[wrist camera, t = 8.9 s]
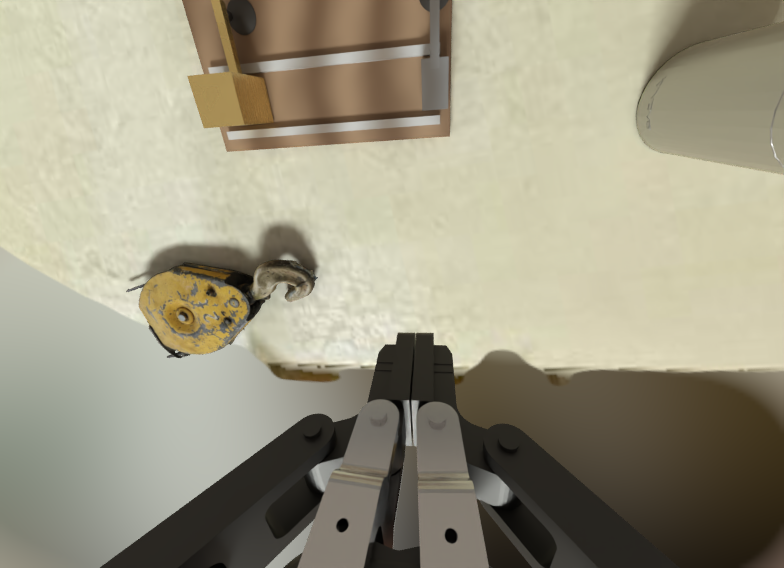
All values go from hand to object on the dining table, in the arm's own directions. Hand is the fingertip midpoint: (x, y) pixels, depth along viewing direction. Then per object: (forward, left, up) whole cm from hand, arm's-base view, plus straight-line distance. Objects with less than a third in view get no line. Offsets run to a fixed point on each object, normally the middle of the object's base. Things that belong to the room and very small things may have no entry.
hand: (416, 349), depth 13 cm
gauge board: (+10, -14, -27) cm, 32 cm away
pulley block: (+29, +13, -28) cm, 42 cm away
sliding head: (+18, -14, -26) cm, 34 cm away
